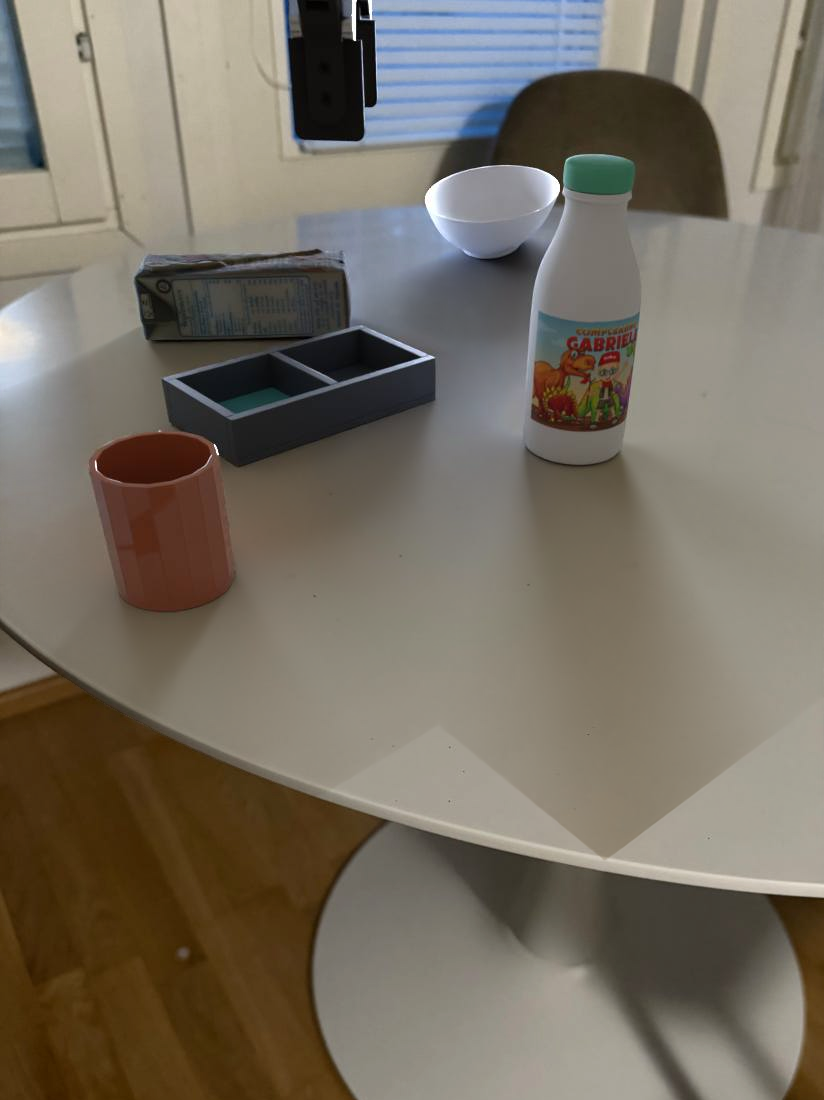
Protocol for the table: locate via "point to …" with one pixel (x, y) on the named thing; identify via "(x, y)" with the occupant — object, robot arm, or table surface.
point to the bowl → (491, 207)
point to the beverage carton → (243, 295)
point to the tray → (298, 392)
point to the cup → (164, 519)
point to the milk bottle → (584, 319)
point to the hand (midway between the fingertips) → (340, 121)
